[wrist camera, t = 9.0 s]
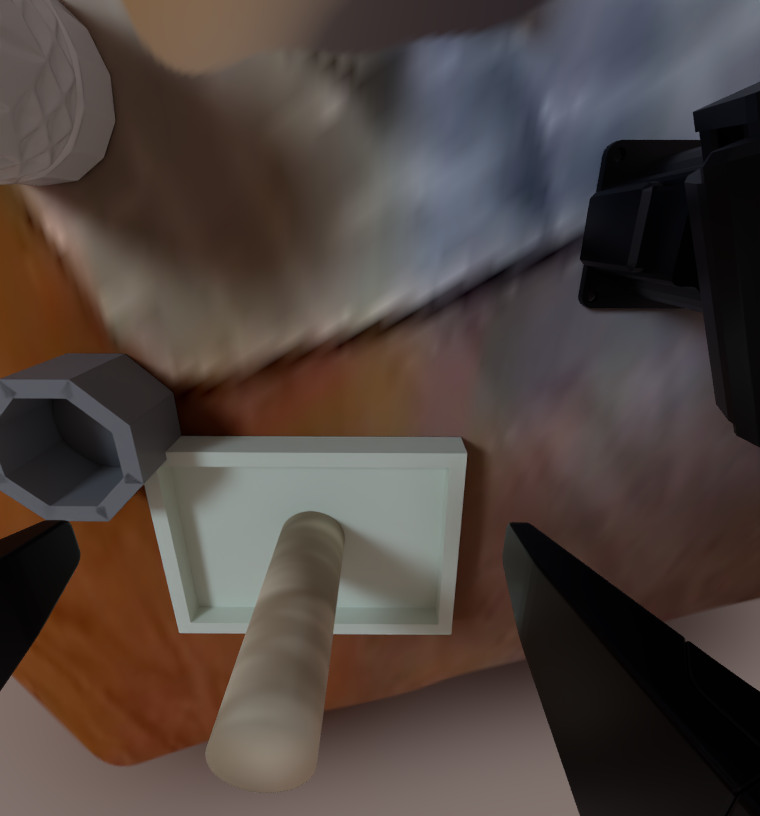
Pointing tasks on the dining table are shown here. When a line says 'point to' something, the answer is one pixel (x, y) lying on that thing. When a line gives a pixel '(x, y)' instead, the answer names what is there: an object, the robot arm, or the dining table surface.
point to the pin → (282, 664)
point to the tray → (322, 492)
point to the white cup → (50, 95)
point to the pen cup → (83, 434)
